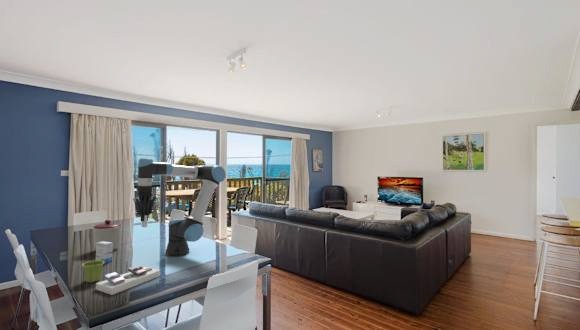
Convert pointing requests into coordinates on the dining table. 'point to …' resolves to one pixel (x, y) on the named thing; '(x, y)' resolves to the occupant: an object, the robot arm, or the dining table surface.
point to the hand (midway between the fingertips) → (144, 226)
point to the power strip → (127, 281)
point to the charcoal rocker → (137, 270)
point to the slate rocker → (114, 278)
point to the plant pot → (92, 270)
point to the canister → (107, 233)
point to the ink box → (104, 251)
